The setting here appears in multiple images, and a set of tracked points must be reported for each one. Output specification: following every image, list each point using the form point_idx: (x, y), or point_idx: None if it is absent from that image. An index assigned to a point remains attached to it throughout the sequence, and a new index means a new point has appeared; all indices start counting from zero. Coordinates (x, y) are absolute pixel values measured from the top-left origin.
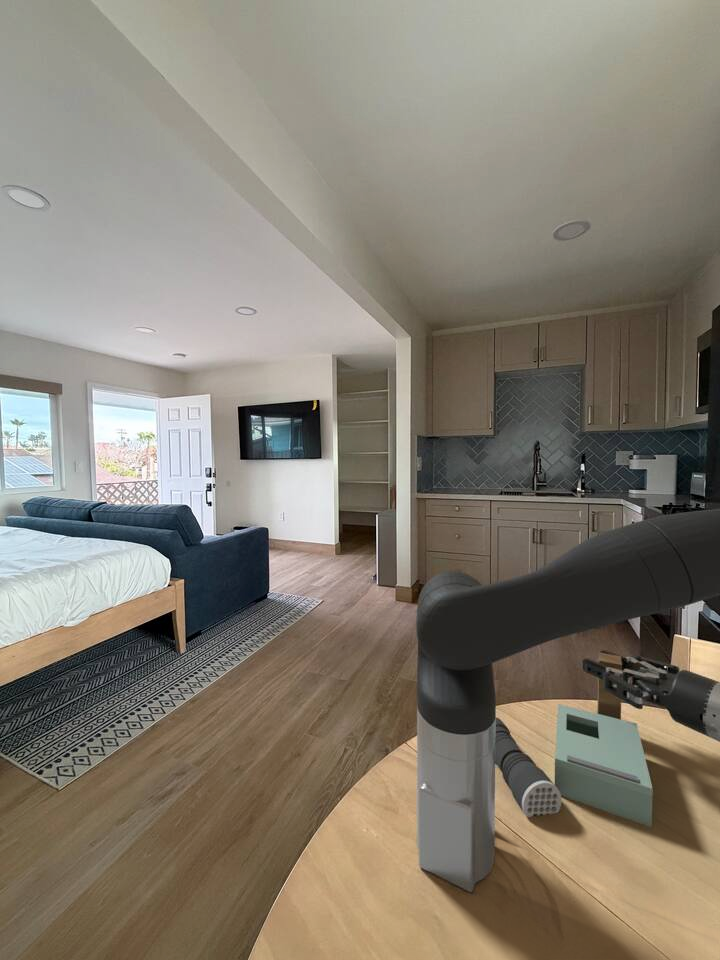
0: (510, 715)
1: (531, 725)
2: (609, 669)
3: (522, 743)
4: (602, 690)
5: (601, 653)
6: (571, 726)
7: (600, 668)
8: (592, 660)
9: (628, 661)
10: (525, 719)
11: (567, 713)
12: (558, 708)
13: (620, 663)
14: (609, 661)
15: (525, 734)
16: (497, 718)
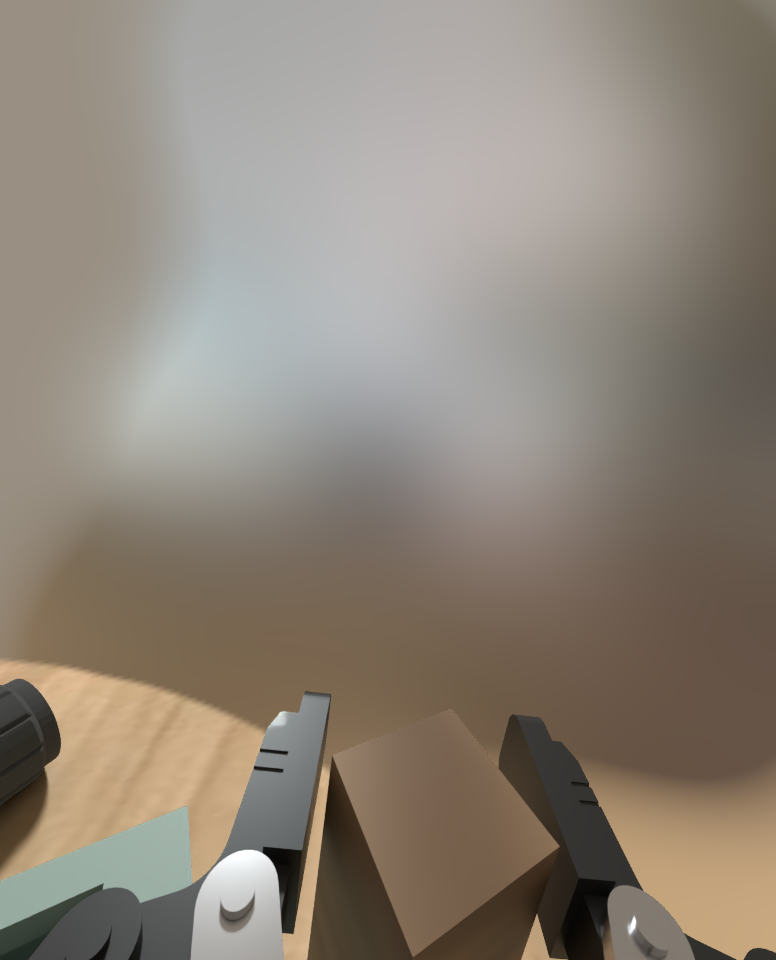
0: (231, 730)
1: (216, 798)
2: (217, 897)
3: (79, 833)
4: (318, 945)
5: (452, 726)
6: None
7: (262, 817)
8: (317, 727)
9: (604, 951)
10: (239, 768)
11: (105, 885)
12: (142, 826)
13: (431, 921)
14: (380, 819)
15: (147, 811)
16: (13, 706)
